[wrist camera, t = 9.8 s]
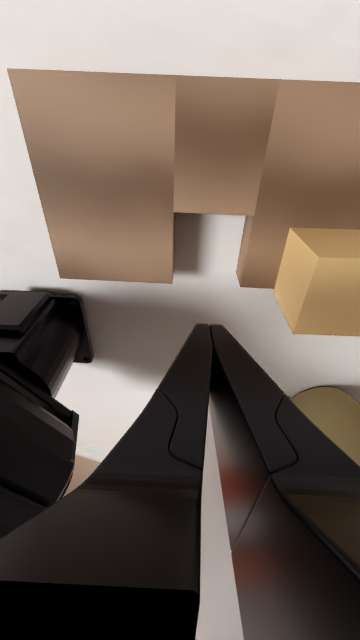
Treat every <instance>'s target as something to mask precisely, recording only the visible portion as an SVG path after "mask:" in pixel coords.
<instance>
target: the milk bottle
mask: <svg viewBox="0 0 360 640" xmlns="http://www.w3.org/2000/svg"><path fill="white" fill-rule="evenodd" d="M231 552H232V551H231V549H230V542H229V536H228V529H227V522H226V515H225V509H224V502H223V495H222V488H221V482H220V475H219V468H218V461H217V455H216V448H215V441H214V434H213V428H212V421H211V414H210V407H208V419H207V432H206V444H205V457H204V469H203V483H202V501H201V574H200V607H199V614H198V622H197V630H196V640H244V637H243V630H242V624H241V617H240V610H239V603H238V597H237V590H236V583H235V577H234V570H233V563H232V556H231Z"/></svg>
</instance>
